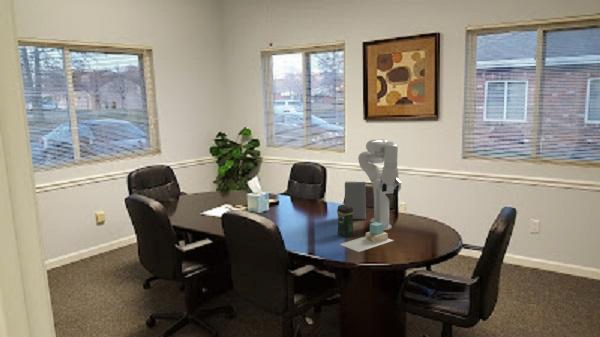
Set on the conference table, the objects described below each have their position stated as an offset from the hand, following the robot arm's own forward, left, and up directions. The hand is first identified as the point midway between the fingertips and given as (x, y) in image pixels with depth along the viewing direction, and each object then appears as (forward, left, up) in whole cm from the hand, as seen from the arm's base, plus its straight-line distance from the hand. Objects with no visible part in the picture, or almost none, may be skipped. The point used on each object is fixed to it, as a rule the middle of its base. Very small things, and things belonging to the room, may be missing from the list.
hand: (390, 193), depth 268 cm
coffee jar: (-17, -20, -26) cm, 37 cm away
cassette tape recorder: (-39, +9, -26) cm, 48 cm away
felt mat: (+1, -20, -26) cm, 33 cm away
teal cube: (+1, -13, -21) cm, 25 cm away
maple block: (+1, -13, -25) cm, 28 cm away
